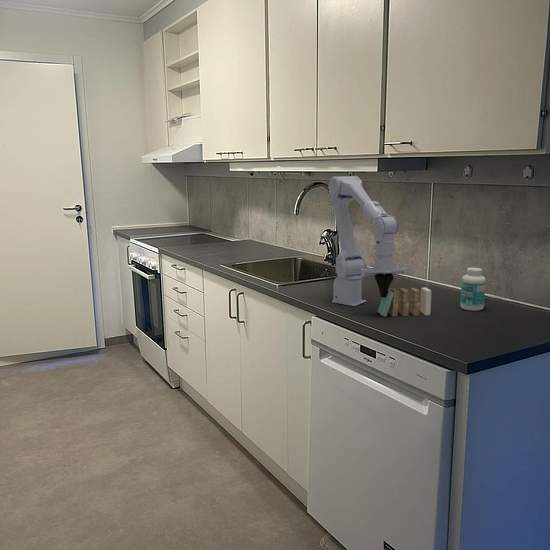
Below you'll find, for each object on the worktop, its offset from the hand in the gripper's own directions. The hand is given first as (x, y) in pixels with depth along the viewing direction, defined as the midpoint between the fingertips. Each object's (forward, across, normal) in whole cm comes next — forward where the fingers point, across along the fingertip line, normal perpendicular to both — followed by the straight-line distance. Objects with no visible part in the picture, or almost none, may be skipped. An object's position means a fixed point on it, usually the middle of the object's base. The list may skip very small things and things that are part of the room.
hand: (383, 296), depth 170 cm
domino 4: (+6, +11, 0) cm, 12 cm away
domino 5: (+6, +14, 0) cm, 15 cm away
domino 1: (+6, 0, 0) cm, 6 cm away
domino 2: (+6, +3, 0) cm, 7 cm away
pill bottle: (+6, +32, +4) cm, 32 cm away
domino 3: (+6, +7, 0) cm, 9 cm away
